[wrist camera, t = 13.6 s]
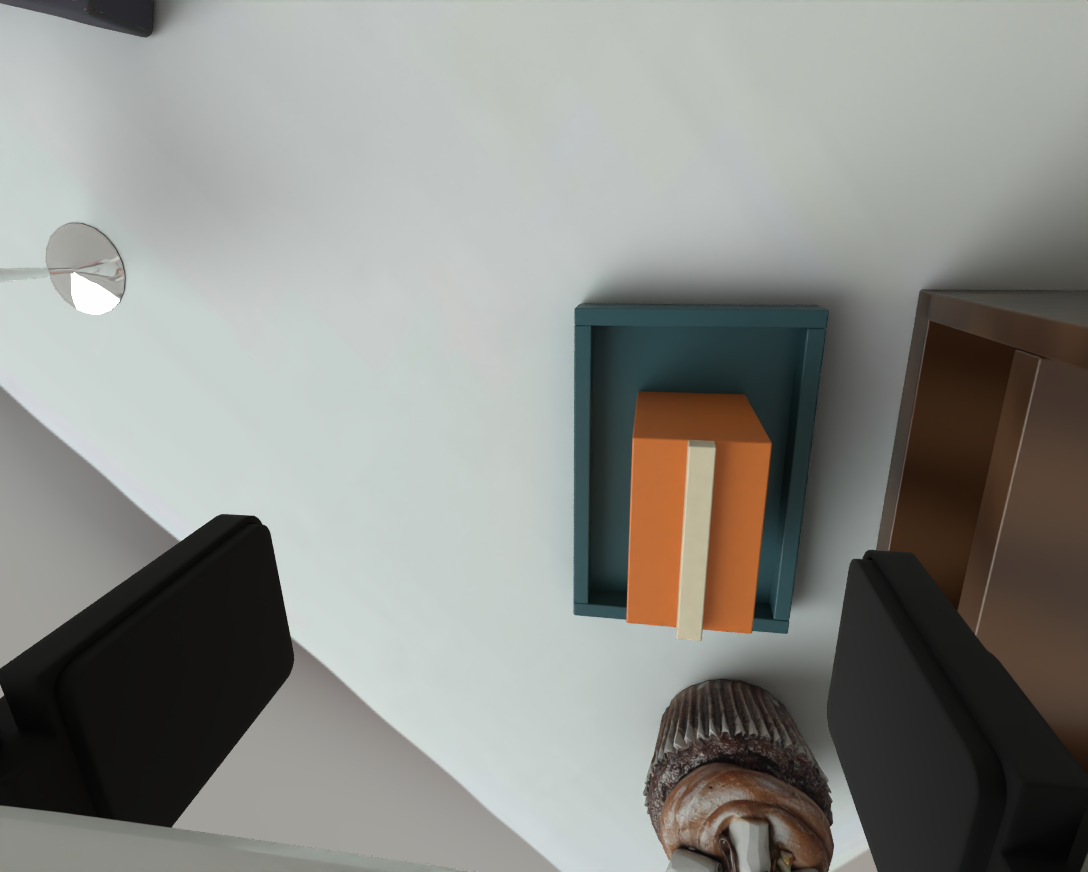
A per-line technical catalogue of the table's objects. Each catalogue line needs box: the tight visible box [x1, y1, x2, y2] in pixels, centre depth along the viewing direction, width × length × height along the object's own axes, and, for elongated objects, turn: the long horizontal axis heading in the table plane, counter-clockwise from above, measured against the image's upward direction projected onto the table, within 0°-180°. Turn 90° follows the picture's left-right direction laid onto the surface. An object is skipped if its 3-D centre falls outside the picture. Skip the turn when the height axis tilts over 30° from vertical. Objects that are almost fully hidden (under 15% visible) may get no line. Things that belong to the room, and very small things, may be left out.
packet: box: [626, 391, 772, 641], centre depth 28 cm, size 8×5×8 cm, turn 1°
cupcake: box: [643, 679, 834, 872], centre depth 33 cm, size 10×10×10 cm
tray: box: [574, 304, 828, 634], centre depth 32 cm, size 17×11×2 cm
